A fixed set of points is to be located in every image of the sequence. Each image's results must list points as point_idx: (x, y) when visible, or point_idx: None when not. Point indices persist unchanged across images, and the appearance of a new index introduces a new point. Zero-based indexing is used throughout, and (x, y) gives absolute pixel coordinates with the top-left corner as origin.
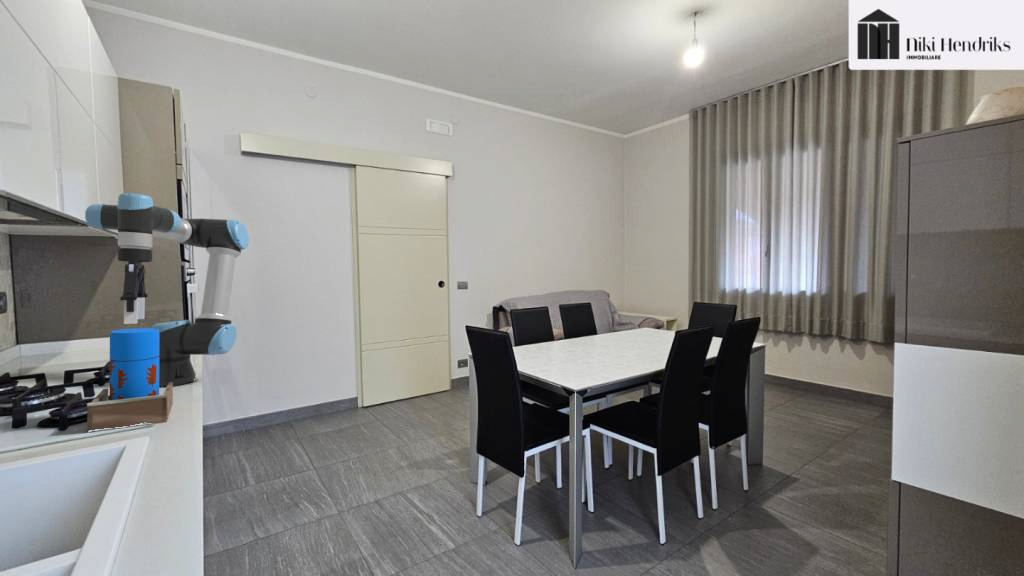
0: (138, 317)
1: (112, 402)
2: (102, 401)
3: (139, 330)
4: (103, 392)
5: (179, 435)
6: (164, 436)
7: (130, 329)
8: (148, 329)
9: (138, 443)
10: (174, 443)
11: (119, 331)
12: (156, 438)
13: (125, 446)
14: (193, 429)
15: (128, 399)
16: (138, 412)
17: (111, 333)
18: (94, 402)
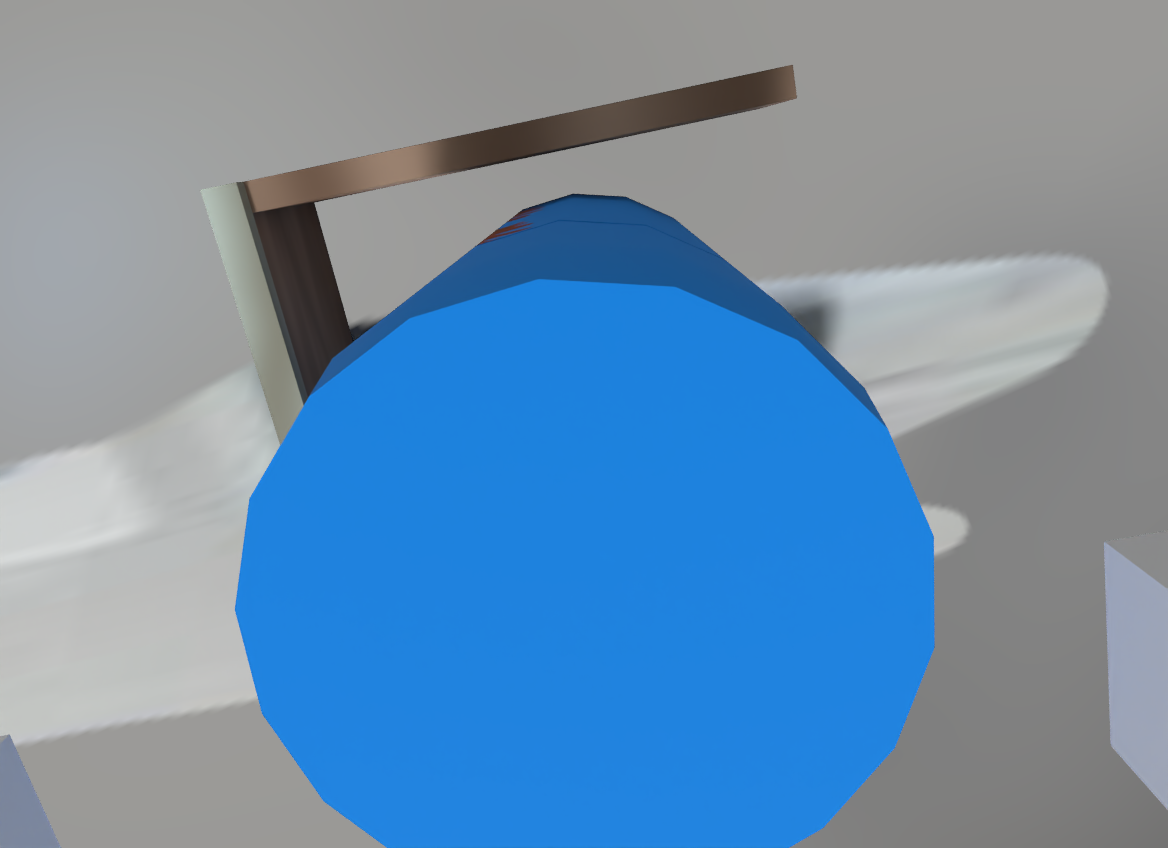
0: (1131, 680)
1: (249, 333)
2: (255, 267)
3: (587, 682)
4: (646, 121)
5: (128, 662)
6: (127, 600)
7: (789, 498)
8: (713, 765)
9: (40, 515)
10: (10, 670)
11: (496, 425)
12: (102, 573)
13: (5, 471)
14: (212, 700)
15: (277, 423)
16: None
17: (374, 339)
18: (236, 222)
